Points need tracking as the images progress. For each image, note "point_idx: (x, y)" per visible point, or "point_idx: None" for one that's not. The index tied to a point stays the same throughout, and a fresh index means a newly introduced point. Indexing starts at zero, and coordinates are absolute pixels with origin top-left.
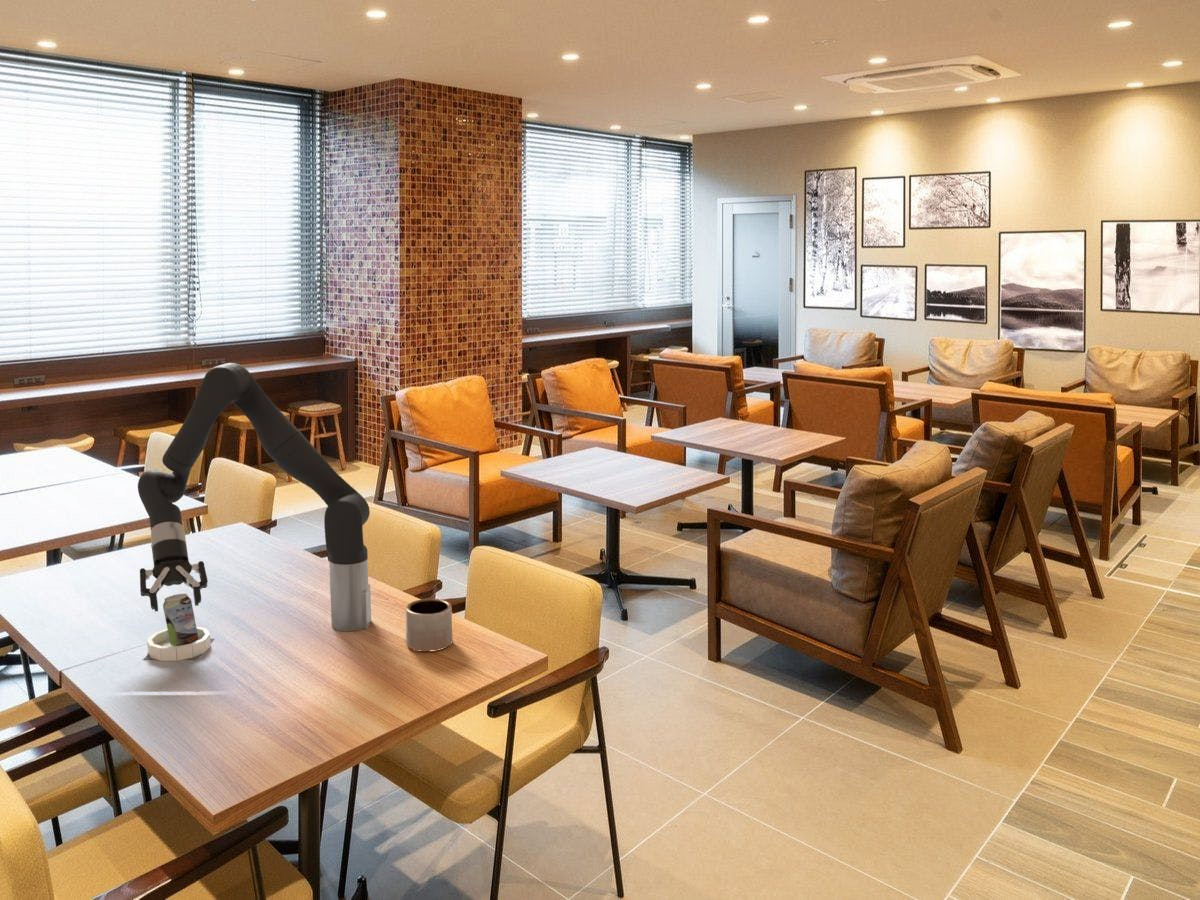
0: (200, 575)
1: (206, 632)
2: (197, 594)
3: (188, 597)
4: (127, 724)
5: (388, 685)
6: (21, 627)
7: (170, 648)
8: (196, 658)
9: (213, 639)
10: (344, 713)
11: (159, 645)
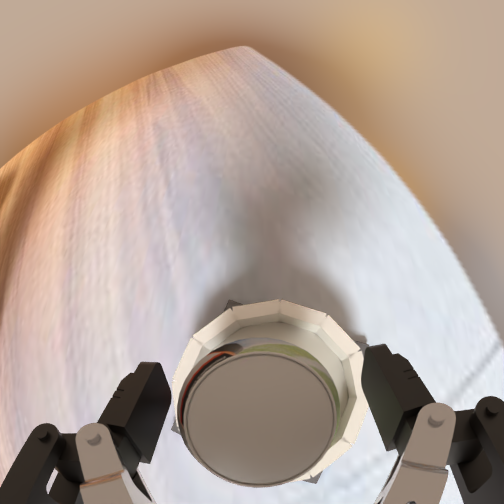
0: (46, 495)
1: None
2: (126, 388)
3: (183, 407)
4: (337, 119)
5: (50, 155)
6: None
7: (296, 304)
8: (229, 307)
9: (175, 425)
10: (109, 112)
11: (331, 337)
